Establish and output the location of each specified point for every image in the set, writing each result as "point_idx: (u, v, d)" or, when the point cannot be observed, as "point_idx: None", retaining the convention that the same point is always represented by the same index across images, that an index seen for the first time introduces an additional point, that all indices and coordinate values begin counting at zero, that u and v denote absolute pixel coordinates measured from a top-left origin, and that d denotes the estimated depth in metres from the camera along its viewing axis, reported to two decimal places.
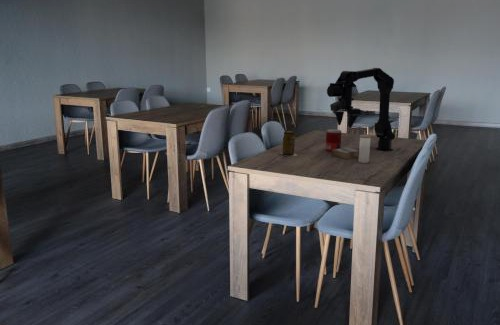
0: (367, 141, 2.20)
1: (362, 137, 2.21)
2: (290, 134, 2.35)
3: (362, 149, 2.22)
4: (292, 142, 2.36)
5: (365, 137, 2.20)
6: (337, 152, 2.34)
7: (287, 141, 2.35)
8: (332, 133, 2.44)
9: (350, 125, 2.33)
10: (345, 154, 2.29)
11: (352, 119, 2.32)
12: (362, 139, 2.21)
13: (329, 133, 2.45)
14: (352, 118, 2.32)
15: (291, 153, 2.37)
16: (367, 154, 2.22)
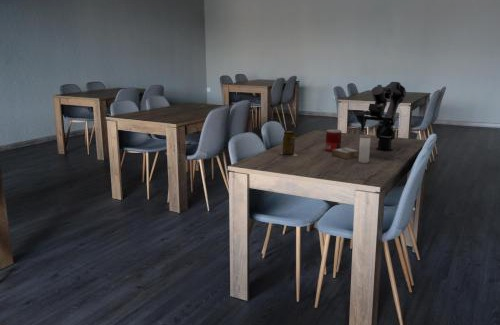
0: (367, 141, 2.20)
1: (362, 137, 2.21)
2: (290, 134, 2.35)
3: (362, 149, 2.22)
4: (292, 142, 2.36)
5: (365, 137, 2.20)
6: (337, 152, 2.34)
7: (287, 141, 2.35)
8: (332, 133, 2.44)
9: (381, 130, 2.26)
10: (345, 154, 2.29)
11: (384, 126, 2.28)
12: (362, 139, 2.21)
13: (329, 133, 2.45)
14: (385, 125, 2.28)
15: (291, 153, 2.37)
16: (367, 154, 2.22)
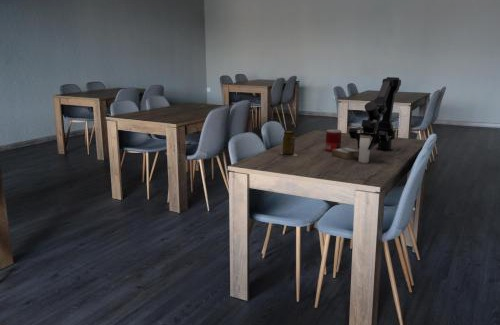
0: (367, 141, 2.20)
1: (362, 137, 2.21)
2: (290, 134, 2.35)
3: (362, 149, 2.22)
4: (292, 142, 2.36)
5: (365, 137, 2.20)
6: (337, 152, 2.34)
7: (287, 141, 2.35)
8: (332, 133, 2.44)
9: (370, 147, 2.21)
10: (345, 154, 2.29)
11: (374, 142, 2.23)
12: (362, 139, 2.21)
13: (329, 133, 2.45)
14: (374, 141, 2.23)
15: (291, 153, 2.37)
16: (367, 154, 2.22)
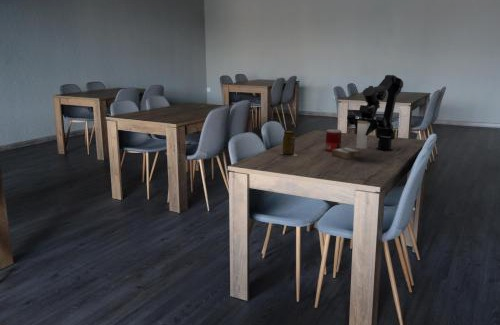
0: (364, 126, 2.20)
1: (359, 122, 2.21)
2: (290, 134, 2.35)
3: (359, 135, 2.22)
4: (292, 142, 2.36)
5: (362, 122, 2.20)
6: (337, 152, 2.34)
7: (287, 141, 2.35)
8: (332, 133, 2.44)
9: (368, 132, 2.21)
10: (345, 154, 2.29)
11: (371, 128, 2.22)
12: (360, 124, 2.21)
13: (329, 133, 2.45)
14: (372, 127, 2.22)
15: (291, 153, 2.37)
16: (364, 140, 2.22)
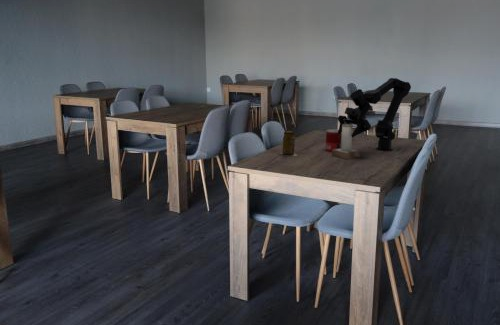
0: (347, 130, 2.31)
1: (343, 126, 2.32)
2: (290, 134, 2.35)
3: (342, 138, 2.33)
4: (292, 142, 2.36)
5: (345, 126, 2.31)
6: (337, 152, 2.34)
7: (287, 141, 2.35)
8: (332, 133, 2.44)
9: (354, 134, 2.29)
10: (345, 154, 2.29)
11: (358, 130, 2.29)
12: (343, 128, 2.32)
13: (329, 133, 2.45)
14: (359, 129, 2.30)
15: (291, 153, 2.37)
16: (347, 142, 2.32)
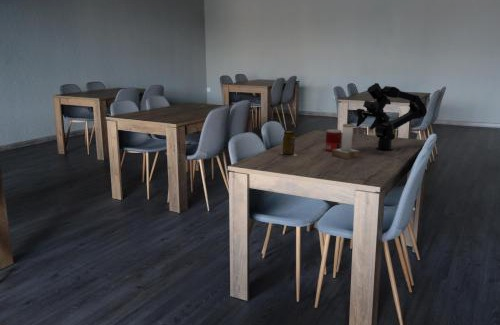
0: (348, 130, 2.31)
1: (343, 126, 2.32)
2: (290, 134, 2.35)
3: (343, 138, 2.33)
4: (292, 142, 2.36)
5: (346, 126, 2.31)
6: (337, 152, 2.34)
7: (287, 141, 2.35)
8: (332, 133, 2.44)
9: (372, 126, 2.37)
10: (345, 154, 2.29)
11: (377, 123, 2.37)
12: (343, 128, 2.32)
13: (329, 133, 2.45)
14: (377, 122, 2.37)
15: (291, 153, 2.37)
16: (348, 143, 2.32)
